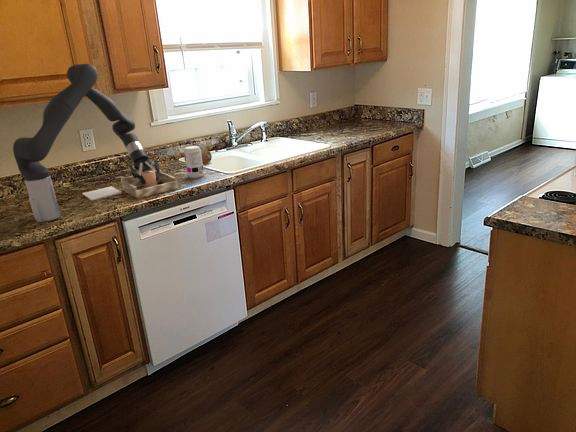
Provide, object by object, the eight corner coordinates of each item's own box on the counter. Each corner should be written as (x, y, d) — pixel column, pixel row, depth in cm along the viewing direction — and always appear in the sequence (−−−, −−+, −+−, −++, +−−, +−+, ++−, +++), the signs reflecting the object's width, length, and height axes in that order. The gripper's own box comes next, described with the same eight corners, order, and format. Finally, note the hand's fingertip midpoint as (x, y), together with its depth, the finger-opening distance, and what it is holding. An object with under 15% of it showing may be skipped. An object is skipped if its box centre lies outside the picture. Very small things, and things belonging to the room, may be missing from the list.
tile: (91, 200, 204) (91, 199, 204) (82, 194, 214) (82, 193, 214) (122, 193, 212) (121, 192, 212) (111, 187, 222) (111, 186, 222)
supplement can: (185, 178, 230) (180, 149, 224) (192, 173, 237) (188, 145, 232) (199, 178, 227) (195, 149, 222) (206, 173, 235) (203, 145, 229)
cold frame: (137, 198, 203) (135, 185, 201) (123, 190, 216) (120, 178, 214) (178, 188, 214) (176, 175, 212) (162, 180, 228) (160, 169, 225)
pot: (147, 192, 211) (143, 173, 207) (143, 189, 215) (139, 171, 212) (159, 189, 214) (156, 171, 210) (155, 186, 218) (152, 168, 215)
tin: (185, 166, 252) (183, 152, 249) (185, 165, 255) (183, 150, 252) (212, 163, 256) (210, 148, 253) (211, 162, 258) (210, 147, 255)
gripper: (123, 151, 209) (137, 180, 205) (152, 145, 217) (167, 173, 213) (121, 160, 215) (135, 189, 210) (150, 155, 223) (164, 182, 219)
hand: (151, 181), depth 212 cm, fingers closed on pot, 6 cm apart
